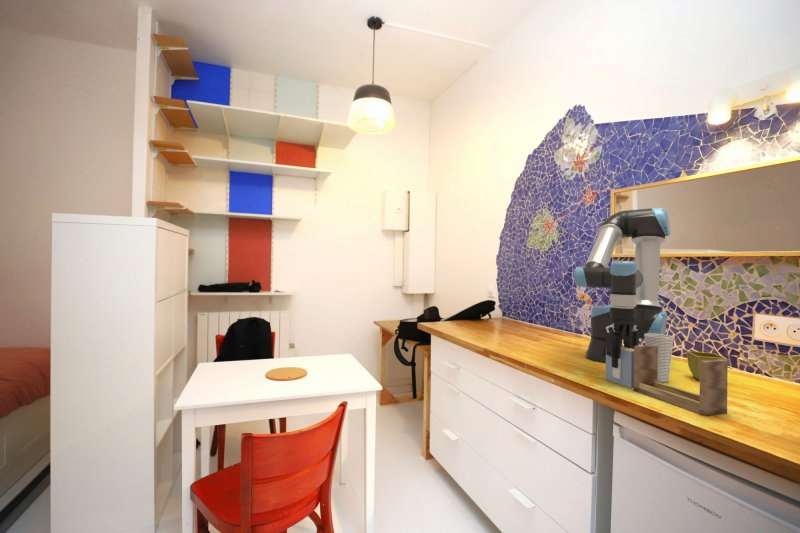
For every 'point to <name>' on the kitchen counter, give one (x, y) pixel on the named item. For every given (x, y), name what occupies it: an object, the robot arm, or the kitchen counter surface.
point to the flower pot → (696, 357)
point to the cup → (661, 353)
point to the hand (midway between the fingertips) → (622, 376)
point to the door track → (704, 404)
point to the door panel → (622, 368)
